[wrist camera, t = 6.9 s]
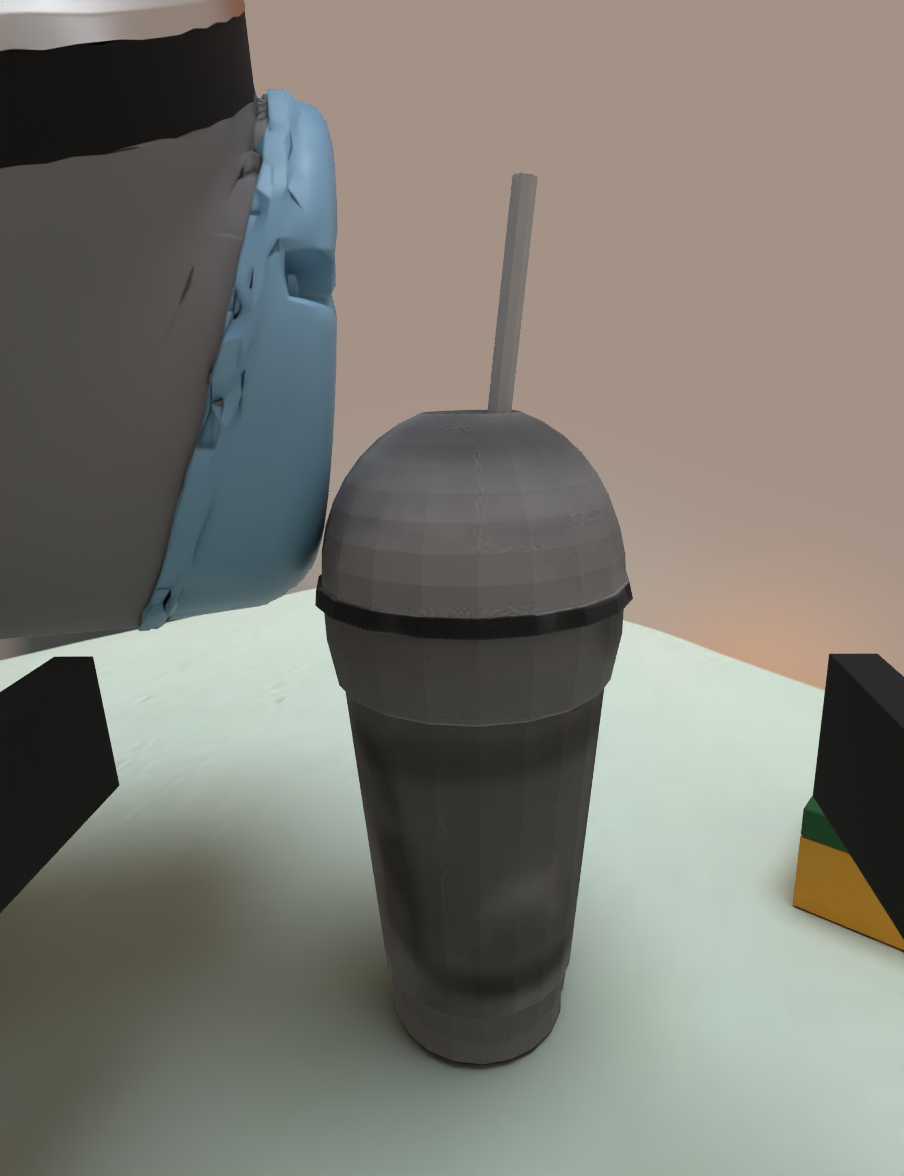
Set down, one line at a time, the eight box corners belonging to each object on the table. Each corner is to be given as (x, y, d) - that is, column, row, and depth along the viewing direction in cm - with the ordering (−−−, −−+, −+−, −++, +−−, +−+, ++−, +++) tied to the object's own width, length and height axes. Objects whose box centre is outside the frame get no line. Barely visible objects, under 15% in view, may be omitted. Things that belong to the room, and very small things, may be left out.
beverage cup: (402, 884, 25) (372, 228, 20) (625, 927, 23) (661, 202, 17) (293, 1071, 18) (203, 150, 13) (595, 1157, 16) (638, 94, 11)
